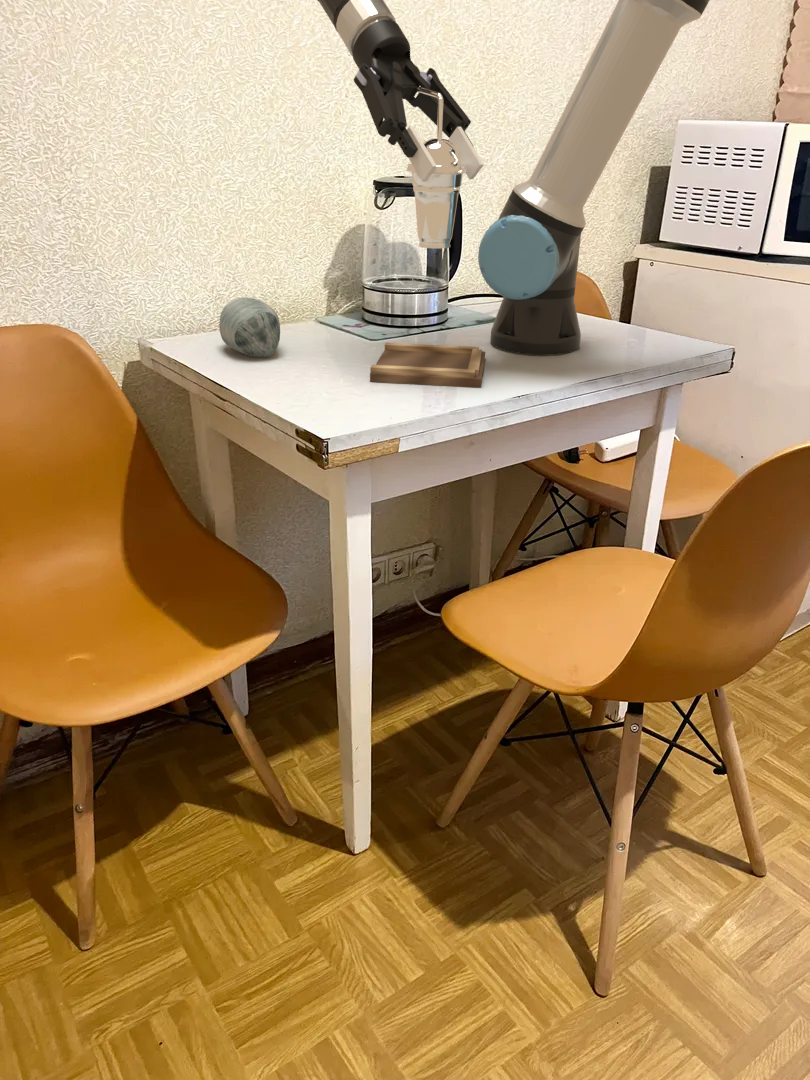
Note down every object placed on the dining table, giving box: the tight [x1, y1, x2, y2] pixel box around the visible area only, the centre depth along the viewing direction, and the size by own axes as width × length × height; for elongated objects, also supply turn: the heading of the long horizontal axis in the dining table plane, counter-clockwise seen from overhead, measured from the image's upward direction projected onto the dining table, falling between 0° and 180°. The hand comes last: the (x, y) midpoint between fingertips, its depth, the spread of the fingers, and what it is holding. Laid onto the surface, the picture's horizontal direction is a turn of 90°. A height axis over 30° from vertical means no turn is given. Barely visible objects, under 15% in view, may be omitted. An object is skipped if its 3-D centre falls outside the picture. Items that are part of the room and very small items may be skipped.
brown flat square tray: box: [369, 342, 486, 389], centre depth 124 cm, size 16×16×2 cm
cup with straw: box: [405, 87, 468, 250], centre depth 112 cm, size 8×9×20 cm
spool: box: [218, 296, 281, 358], centre depth 132 cm, size 14×10×10 cm
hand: (453, 172), depth 110 cm, fingers closed on cup with straw, 8 cm apart
